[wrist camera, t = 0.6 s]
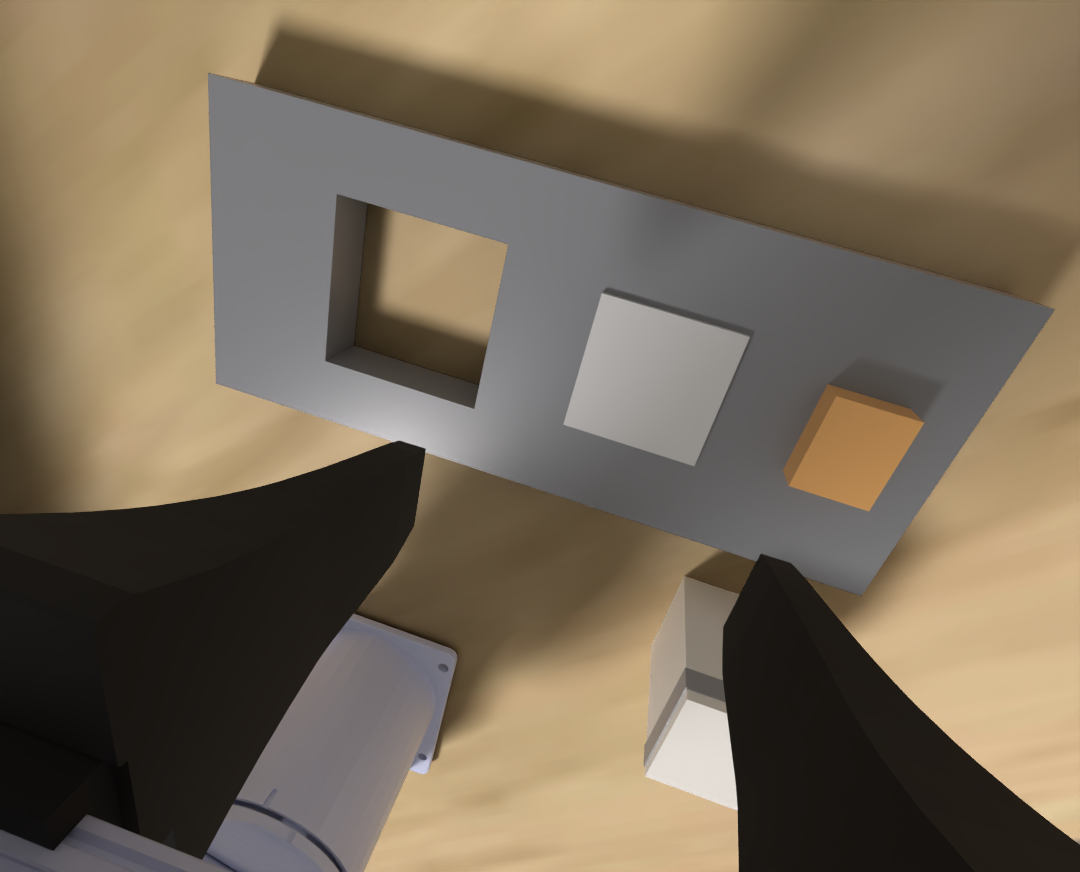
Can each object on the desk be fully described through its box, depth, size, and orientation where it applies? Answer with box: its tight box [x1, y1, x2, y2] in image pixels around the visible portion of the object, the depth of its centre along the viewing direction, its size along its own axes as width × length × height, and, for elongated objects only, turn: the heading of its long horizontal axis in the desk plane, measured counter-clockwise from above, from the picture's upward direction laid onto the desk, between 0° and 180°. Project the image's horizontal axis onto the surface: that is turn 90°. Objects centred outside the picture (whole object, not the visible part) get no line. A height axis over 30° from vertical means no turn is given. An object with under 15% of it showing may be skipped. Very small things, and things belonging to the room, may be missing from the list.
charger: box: [644, 576, 740, 811], centre depth 21 cm, size 4×4×6 cm
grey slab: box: [208, 73, 1055, 596], centre depth 18 cm, size 24×10×3 cm, turn 76°
